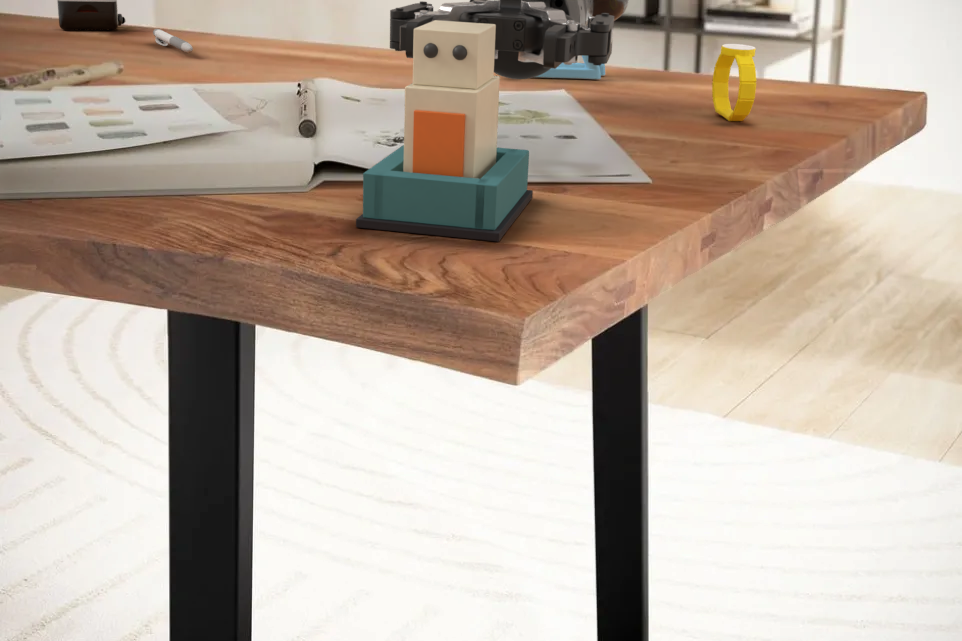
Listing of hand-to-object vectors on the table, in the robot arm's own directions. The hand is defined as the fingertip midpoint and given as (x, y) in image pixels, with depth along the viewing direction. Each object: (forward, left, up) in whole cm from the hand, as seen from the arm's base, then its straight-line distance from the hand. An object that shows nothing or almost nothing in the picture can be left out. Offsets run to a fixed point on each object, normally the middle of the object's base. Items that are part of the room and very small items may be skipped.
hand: (479, 45), depth 74 cm
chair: (+40, +26, -9) cm, 49 cm away
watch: (+34, +3, -9) cm, 36 cm away
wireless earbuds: (+20, +78, -9) cm, 81 cm away
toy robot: (-5, -3, -8) cm, 10 cm away
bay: (-6, -3, -9) cm, 11 cm away
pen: (+18, +60, -9) cm, 63 cm away
